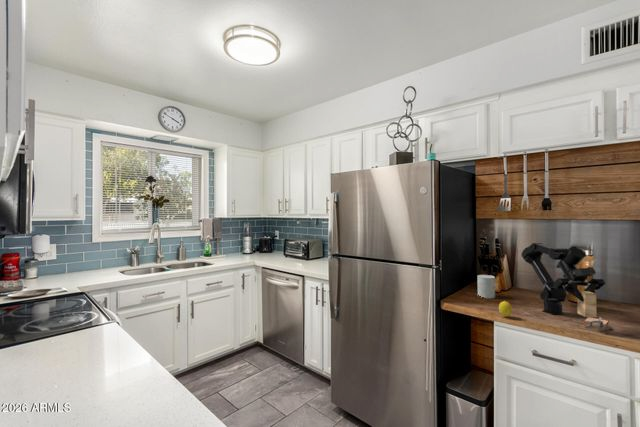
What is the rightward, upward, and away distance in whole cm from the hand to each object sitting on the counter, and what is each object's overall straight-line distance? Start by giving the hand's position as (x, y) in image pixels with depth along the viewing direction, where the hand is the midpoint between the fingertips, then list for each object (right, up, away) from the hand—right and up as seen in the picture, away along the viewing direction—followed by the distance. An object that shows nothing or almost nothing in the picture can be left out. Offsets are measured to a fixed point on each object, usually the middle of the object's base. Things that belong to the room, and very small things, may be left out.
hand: (589, 301), depth 129 cm
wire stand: (+7, -13, +3) cm, 15 cm away
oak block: (0, -7, +1) cm, 7 cm away
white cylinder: (-14, -13, +55) cm, 58 cm away
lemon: (-25, -13, +18) cm, 34 cm away
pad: (+14, -13, +11) cm, 22 cm away
